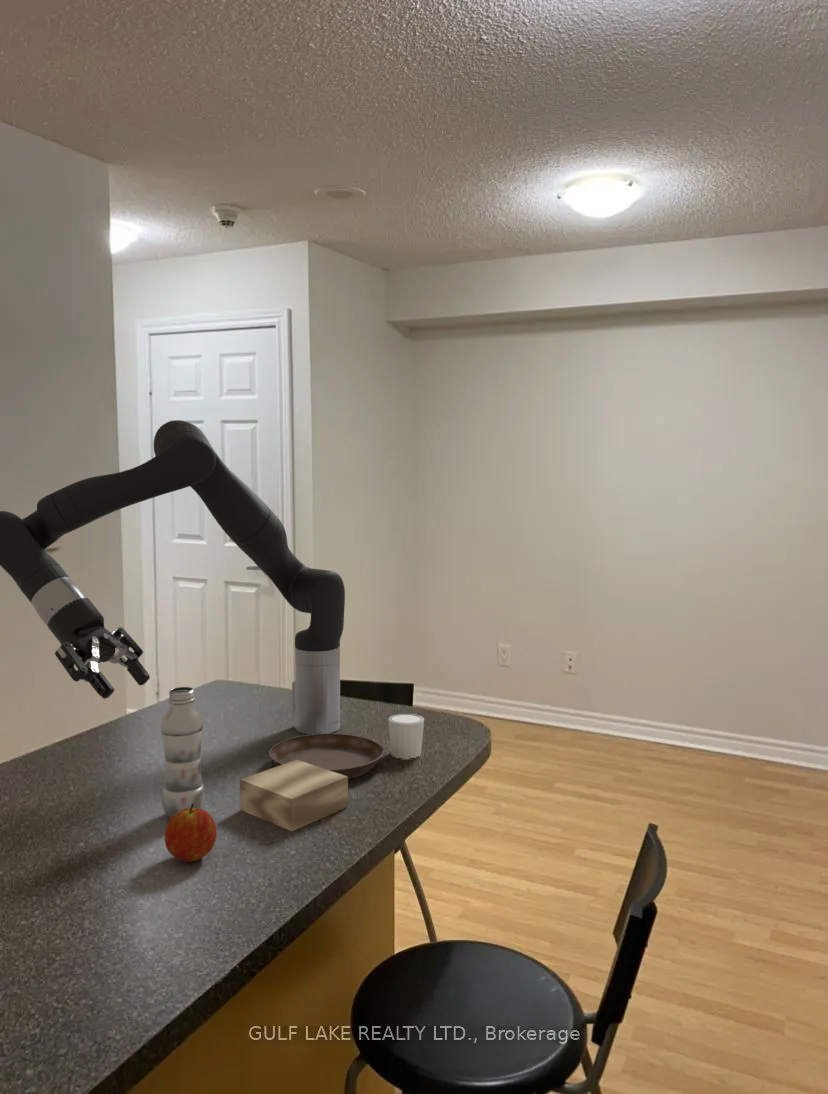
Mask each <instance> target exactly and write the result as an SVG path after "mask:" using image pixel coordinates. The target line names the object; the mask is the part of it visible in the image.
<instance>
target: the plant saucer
mask: <svg viewBox="0 0 828 1094" xmlns="http://www.w3.org/2000/svg"><path fill="white" fill-rule="evenodd" d="M384 751H385V750H384V748H383V746H382V745H381V744H380V743H378V742H377V741H376V740H373V739H370V738H367V737H363V736H358V735H354V734H345V733H327V734H305V735H300V736H294V737H290V738H287V739H284V740H281V741H280V742H278V743H276V744H274V745H273V746H272V747H271V748H270V749H269V754H268V755H269V757H270V759H271V760H272V762H273V764H274V765H275V767H277V766H280V765H283V764H286V763H288V762H291V761H294V760H300V761H303V762H306V763H309V764H312V765H315V766H318V767H321V768H324V769H327V770H330V771H333V772H336V773H339V774H342V775H345V776H348V780H350V779H355V778H358V777H361V776H362V775H364V774H367V773H369V772H370V770H372V769H373V768H374V767H375V766H376V765H377V764H378V763H379V761H380V760H381V759H382V757H383V755H384Z"/></svg>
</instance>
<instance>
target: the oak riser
mask: <svg viewBox="0 0 828 1094" xmlns="http://www.w3.org/2000/svg"><path fill="white" fill-rule="evenodd" d="M239 792H240V793H239V795H240V797H239V799H240V806H239V807H240V811H241V812H243V813H247V814H249V815H252V816H253V817H256V818H259V819H262V820H264V821H265V822H268V823H271V824H273V825H275V826H278V827H280V828H282V829H284V830H287V831H290V832H294V831H296V830H298V829H300V828H303V827H306V826H307V825H309V824H312V823H315V822H317V821H319V820H321V819H324V818H325V817H328V816H331V815H332V814H335V813H337V812H339V810H340V811H341V810H344V809H346V807H347V808H348V807H349V779H348V776H345V775H342V774H339V773H336V772H333V771H330V770H327V769H324V768H321V767H318V766H315V765H312V764H309V763H306V762H303V761H300V760H294V761H291V762H288V763H286V764H283V765H280V766H274V767H272V768H268V769H266V770H263V771H260V772H258V773H255V774H252V775H249V776H246V777H243V778H241V779H240V780H239Z"/></svg>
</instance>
